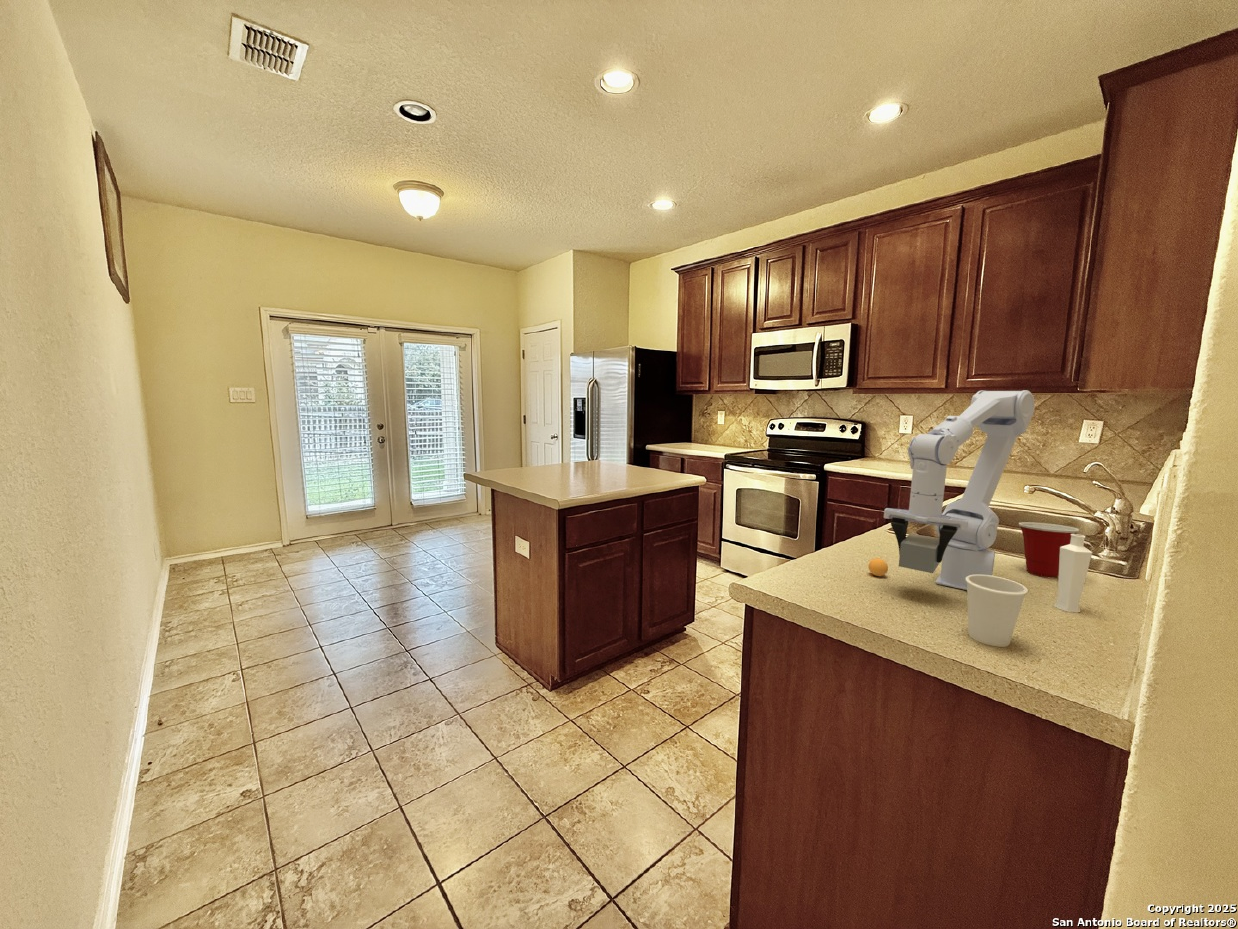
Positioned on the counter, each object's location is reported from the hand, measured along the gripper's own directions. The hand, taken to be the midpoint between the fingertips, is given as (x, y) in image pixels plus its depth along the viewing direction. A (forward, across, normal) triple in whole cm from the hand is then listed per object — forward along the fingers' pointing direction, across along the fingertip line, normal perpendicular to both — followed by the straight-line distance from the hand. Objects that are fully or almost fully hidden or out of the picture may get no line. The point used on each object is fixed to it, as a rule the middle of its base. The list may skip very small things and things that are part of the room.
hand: (920, 557), depth 101 cm
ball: (+6, -9, +7) cm, 13 cm away
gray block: (+1, 0, 0) cm, 1 cm away
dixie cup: (+8, +13, -13) cm, 20 cm away
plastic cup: (+8, +20, +36) cm, 42 cm away
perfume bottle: (+8, +24, +13) cm, 29 cm away
